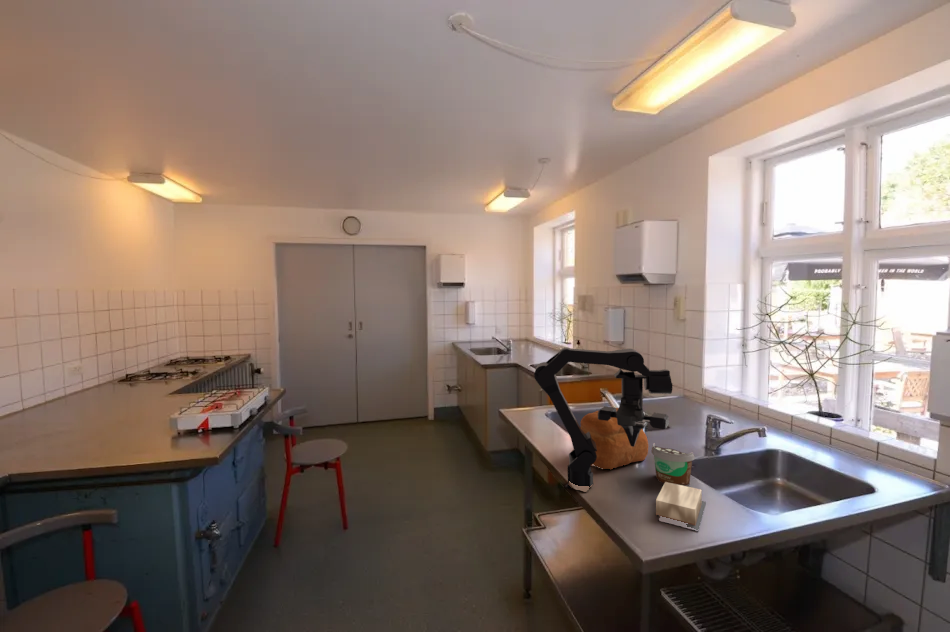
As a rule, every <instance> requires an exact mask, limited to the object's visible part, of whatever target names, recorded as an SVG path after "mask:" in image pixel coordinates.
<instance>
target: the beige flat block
mask: <svg viewBox="0 0 950 632" xmlns="http://www.w3.org/2000/svg"><path fill="white" fill-rule="evenodd" d="M702 495H703V494H702V489H700V488H696V487H690V486H688V485H687V486H682V485H678V484H673V483H668V482H665V483H664V484H663V486H662V487H661V489H660V492H659V493H658V495H657V497H656V500H655V515H656V516H657V515H659V516H662V517H666V518H670V519H673V520H677V521H681V522H684V523H688V524H692V525H696V522H697V518H698V515H699V511H700V508H701V504H702V501H703V500H702ZM659 516H658V517H659Z"/></svg>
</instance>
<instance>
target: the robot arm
mask: <svg viewBox="0 0 950 632" xmlns="http://www.w3.org/2000/svg"><path fill="white" fill-rule="evenodd" d="M568 363H575V364H576V363H577V364H586V365H587V364H588V365H589V364H590V365H602V366H611V367H614V368H617V369H618V371H616V372H615V373H614V377H615V378H616V379H621V397H620V404H619V406H618V407H613V406H603V407H601V408H600V409H598V410H597V411H598V419H599V420H605V421H608V420H609V419H611V417H613V418H617V424H618V425H620V426H622V427H623V428H624V430H625V432H626V434H627V437H628V440H629V442H630V445H631V446H633V447H634V446H635V443H636V441H637V438H638V435H639V433H640V431H641V429H645V428H646V426H647V425H649V424H650V426H651V427H652V428H653V429H660V430H665V429H667V427H668V426H669V424H670V417H669V415H668V414H667V413H659V412H653V414H651V415H646V414H645V411H644V392H643V391H644V390H646V391H648V394H653V395H655V394H657V395H658V394H659V395H663V394H664V395H665V394H666V395H671V394H672V393H673V383H672V378H671V370H669V369H658V370H657V369H650V368H649V367H647V366H646V365H645V360H644V356H643V355H642V354H641V353H640V352H639V351H637V350H636V349H633V348H623V349H616V350H608V351H607V350H595V349H594V350H593V349H579V348H569V347H562V348H561V349H560V350H559V351H558V352H557V353H556V354H555V355H553V356H551V357H550V359H548V360H547V361H542V362H540V363H538V364H537V366H536V367H535V371H534V374H533V377H534V380H535V382H536V383H537V384H538V386H540V388H541V390H543V392H544V393H545V394H546V395H548V397H549V399H550V400H551V403H552V405H553V407H554V408H555V410H556V412H557V414H558V416H559V418H560V420H561V422H562V424H563V426H564V427H565V429H566V431H567V433H568V436H569V438H570V440H571V443H572V447H573V450H571V451H570V452H569V453H568V459H569V460H568V462H569V463H568V465H567V484H565V488H566V489H569V490H570V489H571V487H570V486H569V485H568V482H569V481H570V482H571V483H573V484H575V485H578V486H589V487H590V486H591V485H592V484H593V485H594V472H593V471H592V466H591V465H592V464H593V463H594V462H595V461H596V458H597V455H596V451H597V448H596V443H595V442H594V441H593V439H592V438H591V435H590V432H587V433H586V434H585V433H584V432H583V431H582V429H581V428H580V427H581V425H580V424H579V422H578V420H577V418H576V417H575V415H574V412H573V411H572V408H570V405H569V403H568V401H567V399H566V398H565V396H564V393H563V392H562V389H561V387H560V385H559V381H558V378H557V375H556V374H558V373H559V372H560V371H561V370H562V369H563V368H564V367H565V366H566V365H567V364H568ZM623 370H624V371H623ZM636 372H637V373H639V374H635V373H636ZM643 388H644V389H643ZM616 408H618V410H617V411H616ZM571 490H572V489H571Z"/></svg>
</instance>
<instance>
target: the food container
mask: <svg viewBox="0 0 950 632" xmlns="http://www.w3.org/2000/svg"><path fill="white" fill-rule="evenodd" d="M651 454H652V455H653V459H654V467H655V476H656V477H655V478H656V480H657V479H658V480H659V481H658V480H657V481H658V482H660V483H661V482H662V484H663V483H665V482H668V483H673V484H678V485H682V486H686V485H687V486H689V485H690V481H691V475H692V474H691V473H692V466H693V461H694V460H695V454H694V452H693V451H691V452H690V453H689V452H688V453H686V452H682V451H680V450H676V449H673V448H668V447H667V448H666V447H660V446H657V445H656V443H655V442H654V443H653V444H652V446H651ZM688 484H689V485H688Z"/></svg>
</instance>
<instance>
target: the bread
mask: <svg viewBox="0 0 950 632" xmlns="http://www.w3.org/2000/svg"><path fill="white" fill-rule="evenodd" d="M615 408H616V411H617V410H618V408H619V407H615ZM598 411H599V410H596V411H593V412H589V413H587V414H585V415H584V416H583V417H582V418H581V420H580V428H581V429H582V431H583V432H584V433H585V434H586V433H587V432H590V435H591V438H592V439H593V441H594V442H595V443H596V448H597V451H596V455H597V458H596V461H595V462H594V463H593V464H594V465H595V466H598V467H600V468H603V469H610V470H613V468H615V469H616V468H619V467H623V465H624V466H626V465H629V464H630V463H637V462H641V461H644V460H646V458H647V456H648V454H649V440H648V437H647V434H646V433H645V431H644V430H643V429H644V428H643V429H641V431H640V433H639V435H638V438H637V441H636V443H635V446H634V447H633V446H631V445H630V442H629V440H628V437H627V434H626V432H625V430H624V428H623V427H622V426H620V425H618V424H617V418H613V417H611V419H609V420H608V421H605V420H599V419H598ZM603 469H602V470H603Z"/></svg>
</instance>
